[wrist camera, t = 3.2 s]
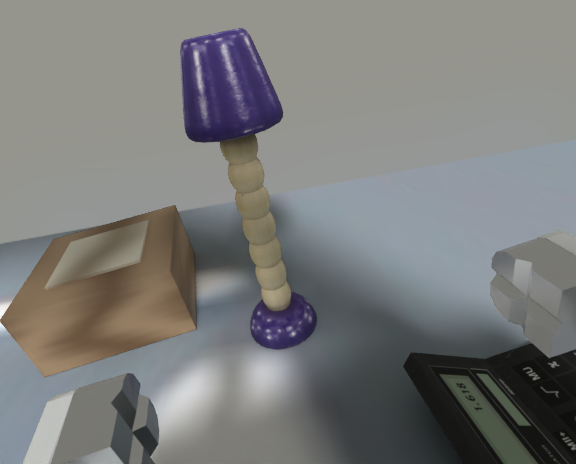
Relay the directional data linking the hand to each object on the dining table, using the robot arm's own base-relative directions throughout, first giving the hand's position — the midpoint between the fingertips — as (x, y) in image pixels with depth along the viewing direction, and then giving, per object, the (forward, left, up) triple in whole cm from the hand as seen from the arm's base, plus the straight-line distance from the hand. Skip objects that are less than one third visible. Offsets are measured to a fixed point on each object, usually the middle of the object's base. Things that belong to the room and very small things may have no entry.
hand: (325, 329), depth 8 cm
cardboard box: (-11, +19, -11) cm, 25 cm away
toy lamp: (0, +12, -11) cm, 16 cm away
